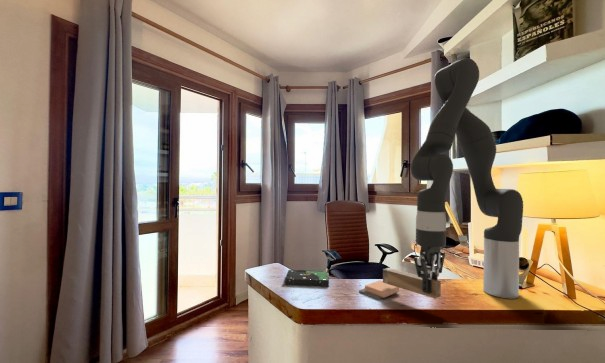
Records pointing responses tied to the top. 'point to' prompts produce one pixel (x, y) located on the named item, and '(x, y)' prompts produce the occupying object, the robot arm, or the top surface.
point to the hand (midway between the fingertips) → (429, 290)
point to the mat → (370, 294)
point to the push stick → (410, 282)
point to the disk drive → (307, 278)
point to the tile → (381, 288)
